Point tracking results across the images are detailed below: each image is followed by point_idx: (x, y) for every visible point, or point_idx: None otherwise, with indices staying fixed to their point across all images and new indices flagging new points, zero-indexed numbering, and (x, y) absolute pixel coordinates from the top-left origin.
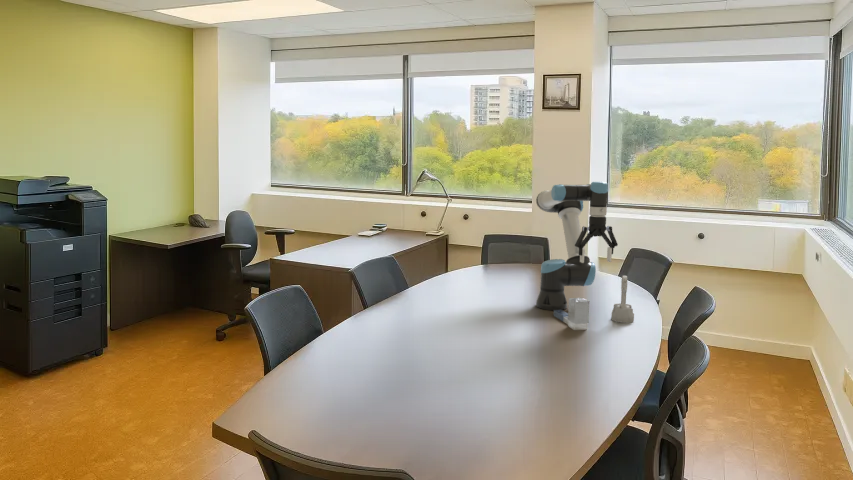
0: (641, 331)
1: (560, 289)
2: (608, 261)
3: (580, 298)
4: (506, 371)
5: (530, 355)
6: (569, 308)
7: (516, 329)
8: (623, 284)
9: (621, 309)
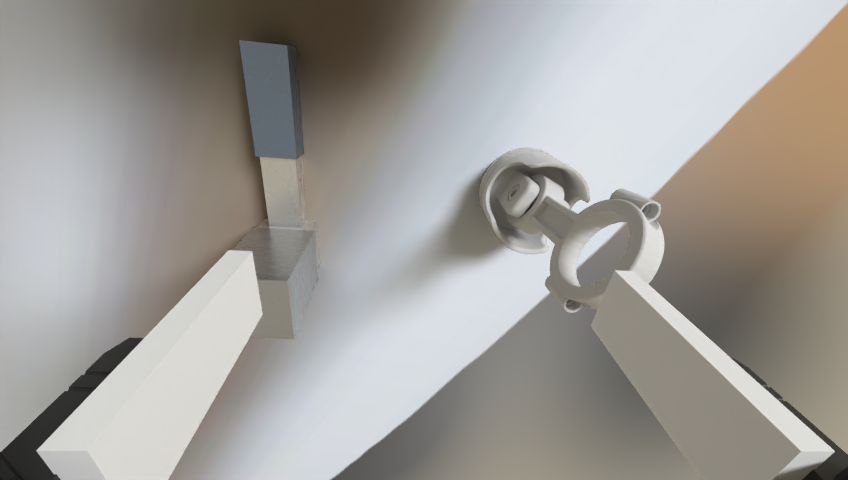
0: (479, 315)
1: None
2: (601, 303)
3: (269, 291)
4: None
5: None
6: None
7: (38, 203)
8: (560, 295)
9: (502, 241)
